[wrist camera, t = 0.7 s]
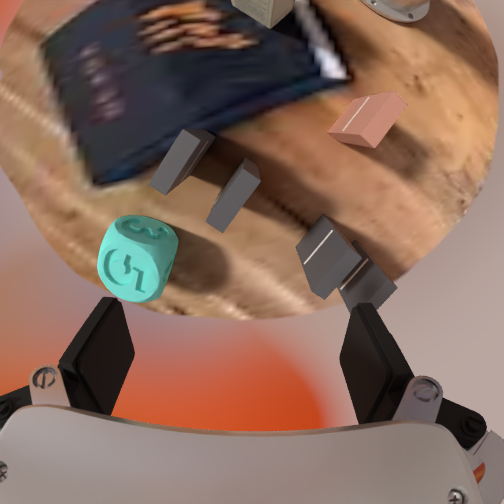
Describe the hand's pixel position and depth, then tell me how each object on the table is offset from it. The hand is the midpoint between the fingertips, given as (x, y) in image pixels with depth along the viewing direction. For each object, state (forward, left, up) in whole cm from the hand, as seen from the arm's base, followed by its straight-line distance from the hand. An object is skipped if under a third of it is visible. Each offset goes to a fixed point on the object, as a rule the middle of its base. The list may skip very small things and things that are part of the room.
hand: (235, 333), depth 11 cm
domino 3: (-1, +10, -26) cm, 28 cm away
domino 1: (-1, -8, -26) cm, 27 cm away
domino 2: (-1, -2, -26) cm, 26 cm away
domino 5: (-1, +16, -26) cm, 31 cm away
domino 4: (-15, +4, -26) cm, 30 cm away
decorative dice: (+13, -7, -26) cm, 30 cm away
